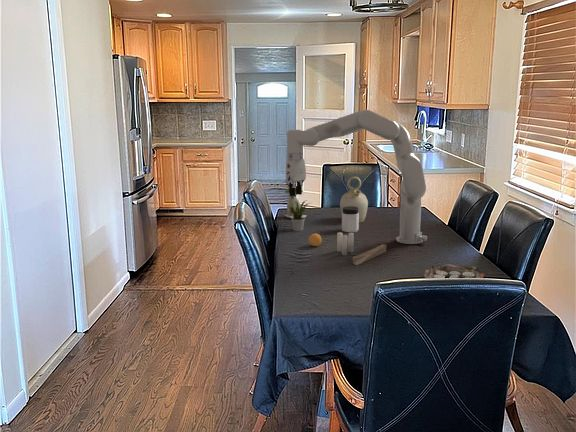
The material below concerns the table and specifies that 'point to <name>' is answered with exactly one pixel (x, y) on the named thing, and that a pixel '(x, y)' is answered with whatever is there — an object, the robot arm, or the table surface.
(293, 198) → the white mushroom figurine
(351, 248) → the back pin right
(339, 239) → the front pin
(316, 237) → the ball
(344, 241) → the back pin left
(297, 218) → the house plant
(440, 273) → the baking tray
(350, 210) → the jar
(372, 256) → the curved brown wooden stick
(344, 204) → the jug
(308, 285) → the table surface
